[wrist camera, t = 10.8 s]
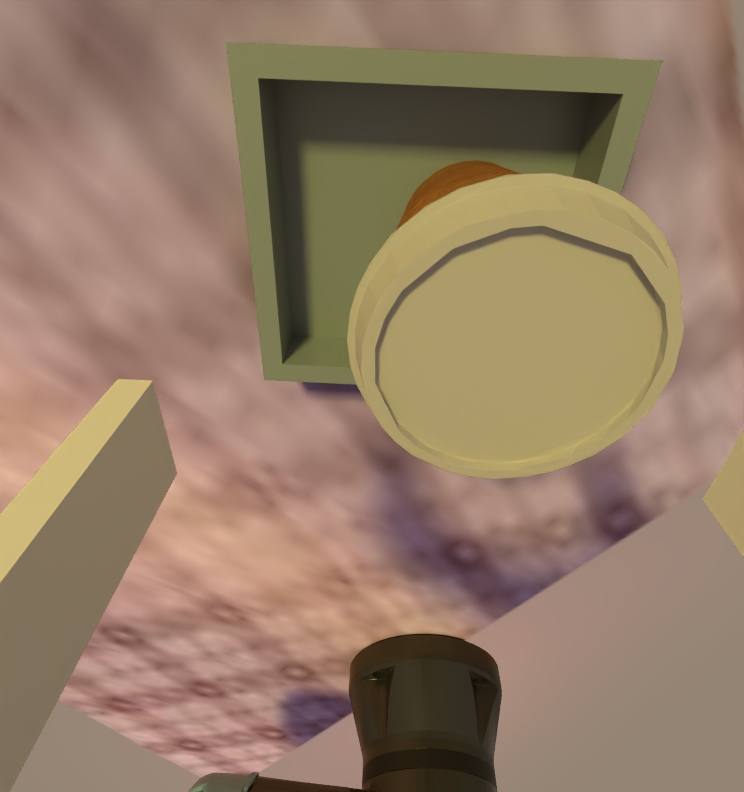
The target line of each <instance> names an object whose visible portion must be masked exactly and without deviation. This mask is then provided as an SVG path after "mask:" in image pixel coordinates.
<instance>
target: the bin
mask: <svg viewBox="0 0 744 792" xmlns="http://www.w3.org/2000/svg"><path fill="white" fill-rule="evenodd" d="M226 43H227V52H228V61H229V70H230V79H231V88H232V97H233V106H234V115H235V124H236V132H237V141H238V150H239V159H240V168H241V177H242V186H243V195H244V204H245V213H246V221H247V230H248V239H249V248H250V257H251V266H252V275H253V284H254V293H255V302H256V310H257V319H258V328H259V337H260V346H261V355H262V364H263V373H264V380H275V381H295V382H315V383H335V384H355V385H356V382H355V379H354V376H353V372H352V369H351V366H350V360H349V352H348V344H347V335H348V326H349V317H350V310H351V307H352V303H353V299H354V296H355V293H356V290H357V288H358V285H359V283H360V281H361V279H362V277H363V275H364V273H365V271H366V269H367V267H368V265H369V264H370V262H371V261H372V259H373V258H374V257H375V255H376V254H377V253H378V251H379V250H380V249H381V247H382V246H383V245H384V243H385V242H386V241H387V239H388V238H389V237H390V235H391V234H393V233H394V232H395V231H396V229H397V227H398V225H399V223H400V221H401V218H402V216H403V214H404V212H405V209H406V206H407V204H408V202H409V200H410V199H411V197H412V195H413V194H414V192H415V191H416V190H417V188H418V187H419V186H420V185H421V184H422V183H423V182H424V181H425V180H426V179H428V178H429V177H430V176H431V175H433V174H434V173H435V172H436V171H438V170H440V169H442V168H444V167H446V166H448V165H451V164H455V163H459V162H462V161H475V160H479V161H485V162H491V163H494V164H497V165H499V166H502V167H504V168H507V169H509V170H512V171H515V172H518V173H520V174H539V173H556V174H560V175H565V176H569V177H574V178H578V179H583V180H587V181H590V182H592V183H595V184H597V185H600V186H602V187H604V188H607V189H609V190H612V191H614V192H616V193H618V194H619V195H620V194H621V191H622V188H623V185H624V182H625V179H626V175H627V172H628V169H629V166H630V163H631V159H632V156H633V153H634V150H635V147H636V143H637V140H638V137H639V134H640V131H641V128H642V124H643V121H644V118H645V115H646V112H647V108H648V105H649V102H650V99H651V96H652V92H653V89H654V86H655V83H656V80H657V77H658V73H659V70H660V67H661V64H662V61H653V60H630V59H606V58H583V57H559V56H536V55H512V54H489V53H465V52H441V51H418V50H394V49H371V48H347V47H324V46H300V45H277V44H253V43H230V42H226Z"/></svg>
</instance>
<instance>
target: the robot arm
mask: <svg viewBox="0 0 744 792" xmlns="http://www.w3.org/2000/svg"><path fill="white" fill-rule="evenodd" d="M176 474H177V472H176V468H175V464H174V460H173V456H172V452H171V449H170V445H169V441H168V437H167V433H166V429H165V426H164V422H163V418H162V414H161V410H160V406H159V403H158V399H157V395H156V391H155V387H154V383H153V381H148V380H127V379H118V380H117V381H116V382H115V383H114V384H113V385H112V386H111V388H110V389H109V390H108V391H107V392H106V393H105V395H104V396H103V397H102V398H101V399H100V400H99V401H98V403H97V404H96V405H95V406H94V407H93V408H92V409H91V411H90V412H89V413H88V414H87V415H86V416H85V418H84V419H83V420H82V421H81V422H80V423H79V424H78V426H77V427H76V428H75V429H74V430H73V431H72V432H71V434H70V435H69V436H68V437H67V438H66V439H65V441H64V442H63V443H62V444H61V445H60V446H59V447H58V449H57V450H56V451H55V452H54V453H53V454H52V455H51V457H50V458H49V459H48V460H47V461H46V462H45V464H44V465H43V466H42V467H41V468H40V469H39V470H38V472H37V473H36V474H35V475H34V476H33V477H32V478H31V480H30V481H29V482H28V483H27V484H26V485H25V487H24V488H23V489H22V490H21V491H20V492H19V493H18V495H17V496H16V497H15V498H14V499H13V500H12V501H11V503H10V504H9V505H8V506H7V507H6V508H5V510H4V511H3V512H2V513H1V514H0V792H10V790H11V788H12V786H13V784H14V783H15V781H16V779H17V777H18V775H19V773H20V771H21V769H22V767H23V766H24V764H25V762H26V760H27V758H28V756H29V754H30V752H31V750H32V748H33V746H34V745H35V743H36V741H37V739H38V737H39V735H40V733H41V731H42V729H43V727H44V726H45V724H46V722H47V720H48V718H49V716H50V714H51V712H52V710H53V708H54V706H55V705H56V703H57V701H58V699H59V697H60V695H61V693H62V691H63V689H64V687H65V686H66V684H67V682H68V680H69V678H70V676H71V674H72V672H73V670H74V668H75V667H76V665H77V663H78V661H79V659H80V657H81V655H82V653H83V651H84V649H85V647H86V646H87V644H88V642H89V640H90V638H91V636H92V634H93V632H94V630H95V628H96V627H97V625H98V623H99V621H100V619H101V617H102V615H103V613H104V611H105V609H106V607H107V606H108V604H109V602H110V600H111V598H112V596H113V594H114V592H115V590H116V588H117V587H118V585H119V583H120V581H121V579H122V577H123V575H124V573H125V571H126V569H127V568H128V566H129V564H130V562H131V560H132V558H133V556H134V554H135V552H136V550H137V548H138V547H139V545H140V543H141V541H142V539H143V537H144V535H145V533H146V531H147V529H148V528H149V526H150V524H151V522H152V520H153V518H154V516H155V514H156V512H157V510H158V508H159V507H160V505H161V503H162V501H163V499H164V497H165V495H166V493H167V491H168V489H169V488H170V486H171V484H172V482H173V480H174V478H175V476H176ZM703 501H704V502H705V503H706V505H707V506H708V508H709V509H710V510H711V512H712V513H713V515H714V516H715V517H716V519H717V520H718V522H719V523H720V524H721V526H722V527H723V529H724V530H725V531H726V533H727V534H728V536H729V537H730V538H731V540H732V541H733V543H734V544H735V546H736V547H737V548H738V550H739V551H740V553H741V554H742V555H743V557H744V431H743V433H742V434H741V436H740V438H739V439H738V441H737V443H736V444H735V446H734V448H733V449H732V451H731V453H730V454H729V456H728V458H727V459H726V461H725V463H724V464H723V466H722V468H721V469H720V471H719V473H718V474H717V476H716V478H715V479H714V481H713V483H712V485H711V486H710V488H709V490H708V491H707V493H706V495H705V496H704V498H703ZM349 696H350V701H351V705H352V710H353V714H354V719H355V724H356V728H357V732H358V737H359V741H360V746H361V751H362V755H363V779H362V780H363V781H362V790H361V789H353V788H348V787H340V786H330V785H322V784H314V783H305V782H296V781H289V780H282V779H275V778H267V777H260V776H259V773H257V772H253V773H251V774H250V775H247V774H231V773H211V774H208V775H205V776H203V777H202V778H200V779H199V780H198V781H197V782H196V783H195V784H194V785H193V786H192V788H191V789H190V790H189V792H497V786H496V778H495V771H494V750H495V742H496V734H497V727H498V720H499V711H500V704H501V697H502V690H501V683H500V677H499V671H498V666H497V664H496V662H495V660H494V659H493V657H491V656H490V655H489V654H488V653H487V652H486V651H485V650H483V649H481V648H480V647H478V646H476V645H474V644H471V643H469V642H466V641H463V640H460V639H456V638H451V637H445V636H437V635H408V636H400V637H395V638H390V639H386V640H383V641H380V642H377V643H375V644H373V645H371V646H369V647H367V648H365V649H364V650H362V651H361V652H360V653H359V654H358V655H357V656H356V657H355V658H354V659H353V661H352V663H351V667H350V679H349Z"/></svg>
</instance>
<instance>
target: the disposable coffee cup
mask: <svg viewBox="0 0 744 792" xmlns="http://www.w3.org/2000/svg"><path fill="white" fill-rule="evenodd" d="M681 300H682V293H681V287H680V282H679V276H678V270H677V264H676V261H675V259H674V256H673V254H672V252H671V250H670V248H669V246H668V244H667V242H666V240H665V238H664V236H663V234H662V233H661V231H660V230H659V229H658V228H657V227H656V226H655V225H654V223H653V222H652V221H651V220H650V219H649V218H648V217H647V215H646V214H645V213H644V212H643V211H642V210H641V209H640V208H638V207H637V206H635V205H634V204H632V203H631V202H630V201H628V200H627V199H625V198H624V197H622V196H621V195H619V194H618V193H616V192H614V191H612V190H609V189H607V188H604V187H602V186H600V185H597V184H595V183H592V182H590V181H587V180H583V179H578V178H574V177H569V176H565V175H560V174H556V173H539V174H520V173H518V172H515V171H512V170H509V169H507V168H504V167H502V166H499V165H497V164H494V163H491V162H485V161H479V160H475V161H462V162H459V163H455V164H451V165H448V166H446V167H444V168H442V169H440V170H438V171H436V172H435V173H434V174H433V175H431V176H430V177H429V178H428V179H426V180H425V181H424V182H423V183H422V184H421V185H420V186H419V187H418V188H417V190H416V191H415V192H414V194H413V195H412V197H411V199H410V200H409V202H408V204H407V206H406V209H405V212H404V214H403V216H402V218H401V221H400V223H399V225H398V227H397V229H396V231H395V232H394V233H393V234H391V235H390V237H389V238H388V239H387V241H386V242H385V243H384V245H383V246H382V247H381V249H380V250H379V251H378V253H377V254H376V255H375V257H374V258H373V259H372V261H371V262H370V264H369V265H368V267H367V269H366V271H365V273H364V275H363V277H362V279H361V281H360V283H359V285H358V288H357V290H356V293H355V296H354V299H353V303H352V307H351V310H350V317H349V326H348V335H347V344H348V352H349V360H350V366H351V369H352V372H353V376H354V379H355V382H356V385H357V386H358V388H359V390H360V392H361V394H362V396H363V398H364V399H365V401H366V403H367V404H368V406H369V407H370V408H371V410H372V412H373V413H374V415H375V417H376V418H377V420H378V421H379V423H380V425H381V426H382V428H383V429H384V430H385V431H386V432H387V433H388V434H389V435H390V437H391V438H392V439H393V440H394V441H395V442H396V443H398V444H399V445H400V446H401V447H403V448H404V449H405V450H407V451H408V452H409V453H410V454H412V455H413V456H415V457H417V458H419V459H421V460H423V461H425V462H428V463H430V464H432V465H434V466H437V467H439V468H441V469H444V470H446V471H448V472H452V473H457V474H461V475H466V476H470V477H480V478H490V479H501V478H515V477H527V476H532V475H538V474H543V473H548V472H551V471H554V470H558V469H561V468H564V467H567V466H570V465H572V464H574V463H576V462H579V461H581V460H583V459H586V458H588V457H590V456H593V455H594V454H596V453H598V452H599V451H601V450H602V449H604V448H605V447H607V446H608V445H610V444H612V443H613V442H615V441H616V440H618V439H619V438H621V437H622V436H624V435H625V434H626V433H627V432H628V431H629V430H630V429H631V428H632V427H633V426H634V425H635V424H636V423H637V422H638V421H639V420H640V419H641V418H642V417H643V416H644V415H645V414H646V413H647V412H649V411H650V410H651V409H652V407H653V405H654V404H655V402H656V401H657V399H658V397H659V396H660V394H661V392H662V391H663V389H664V387H665V386H666V384H667V383H668V381H669V379H670V378H671V376H672V374H673V373H674V370H675V365H676V361H677V357H678V353H679V349H680V345H681V341H682V337H683V333H684V329H683V319H682V309H681Z"/></svg>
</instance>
